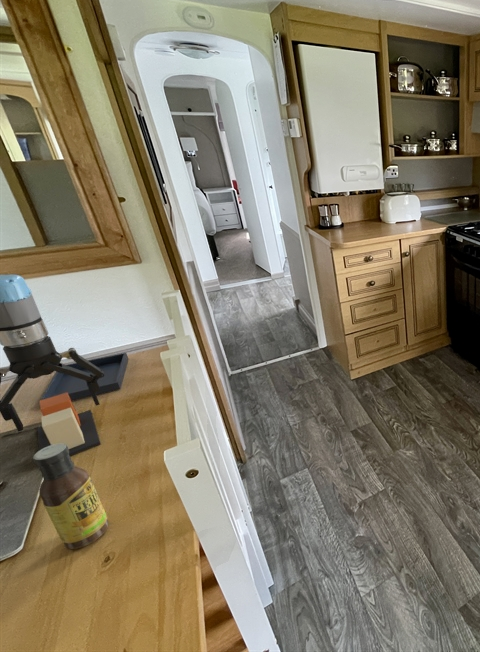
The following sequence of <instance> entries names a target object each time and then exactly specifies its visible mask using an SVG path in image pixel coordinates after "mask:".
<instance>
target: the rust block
mask: <svg viewBox="0 0 480 652" xmlns="http://www.w3.org/2000/svg"><path fill="white" fill-rule="evenodd" d="M38 402H39V409H40V412H41V415H42V417H43V416H46V415H49V414H52V413H55V412H58V411H61V410H64V409H67V408H71V409H72V411H73V413H74V416H75V418H76V420H77V422H78V424H79V426H81V425H80V421H79V417H78V415H77V414H78V413H77V410H76V408H75V406H74V403H73V401H71V399H70V397H69V394H68V392H67V393H63V394H60V395H57V396H54V397H50V398H47V399H44V400H41V401H40V400H39V401H38Z"/></svg>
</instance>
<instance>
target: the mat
mask: <svg viewBox="0 0 480 652" xmlns="http://www.w3.org/2000/svg"><path fill="white" fill-rule="evenodd" d="M77 415H78V417H79V421H80V425H81V426H79V427H80V429H81V431H82V433H83V438H84V442H85V443H84V444H81V445H78V446H76V447H73V448H70V449H69V455H70V457H71V456H74V455H76V454H79V453H82V452H84V451H85V452H86V451H88V450H89V449H93V448H94V447H98V446H100V445H102V444H101V439H100V437H99V433H98V430H97V427H96V423H95V419H94V416H93V413H92V409H89V410H86V411H82V412H79V413H77ZM36 430H37V441H38V451H40V450H41V449H43V448H45V447H48V446H50V445H51V444H50V442H49V440H48V438H47V436H46V434H45V432H44V430H43V428H42V425H41V426H38V427H37V428H36Z"/></svg>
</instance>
